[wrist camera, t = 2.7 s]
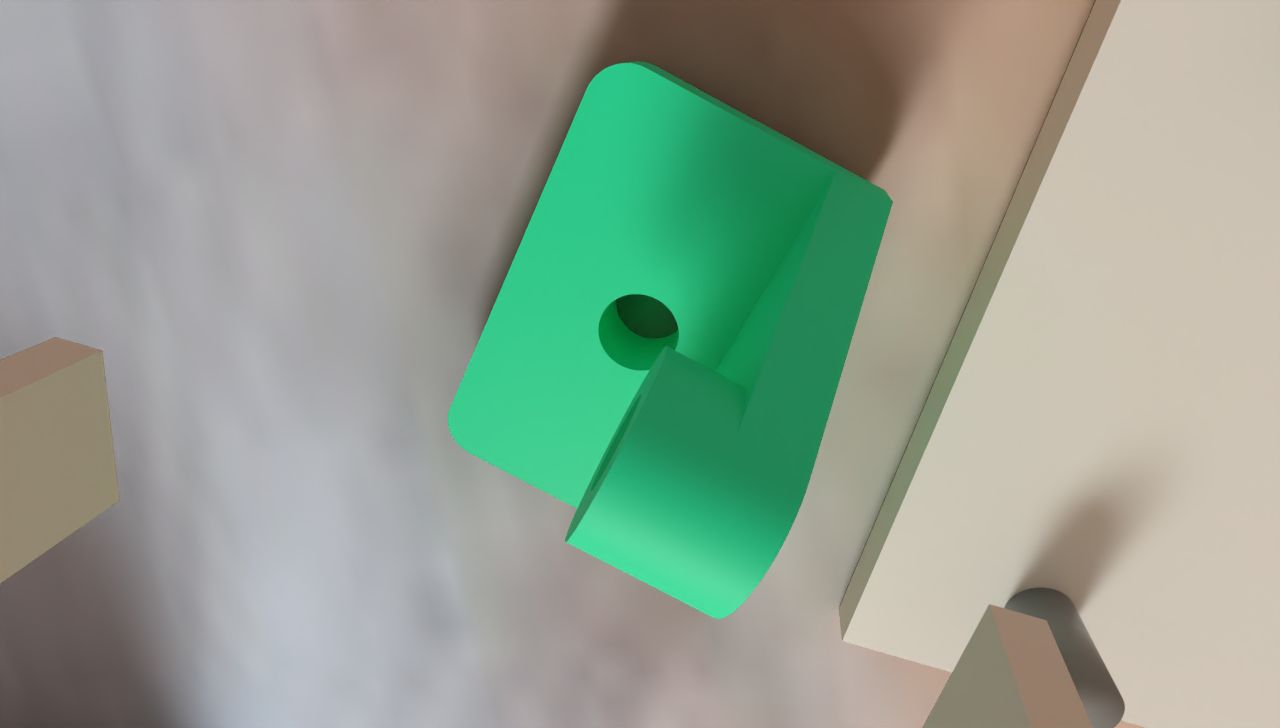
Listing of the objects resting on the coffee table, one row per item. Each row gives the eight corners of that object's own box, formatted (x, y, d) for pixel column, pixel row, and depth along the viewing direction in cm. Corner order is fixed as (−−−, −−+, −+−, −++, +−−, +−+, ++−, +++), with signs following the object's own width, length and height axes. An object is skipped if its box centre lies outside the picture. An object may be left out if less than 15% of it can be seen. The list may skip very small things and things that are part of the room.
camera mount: (625, 44, 20) (489, 49, 10) (879, 182, 20) (965, 306, 11) (470, 398, 25) (285, 613, 16) (674, 504, 25) (612, 778, 16)
